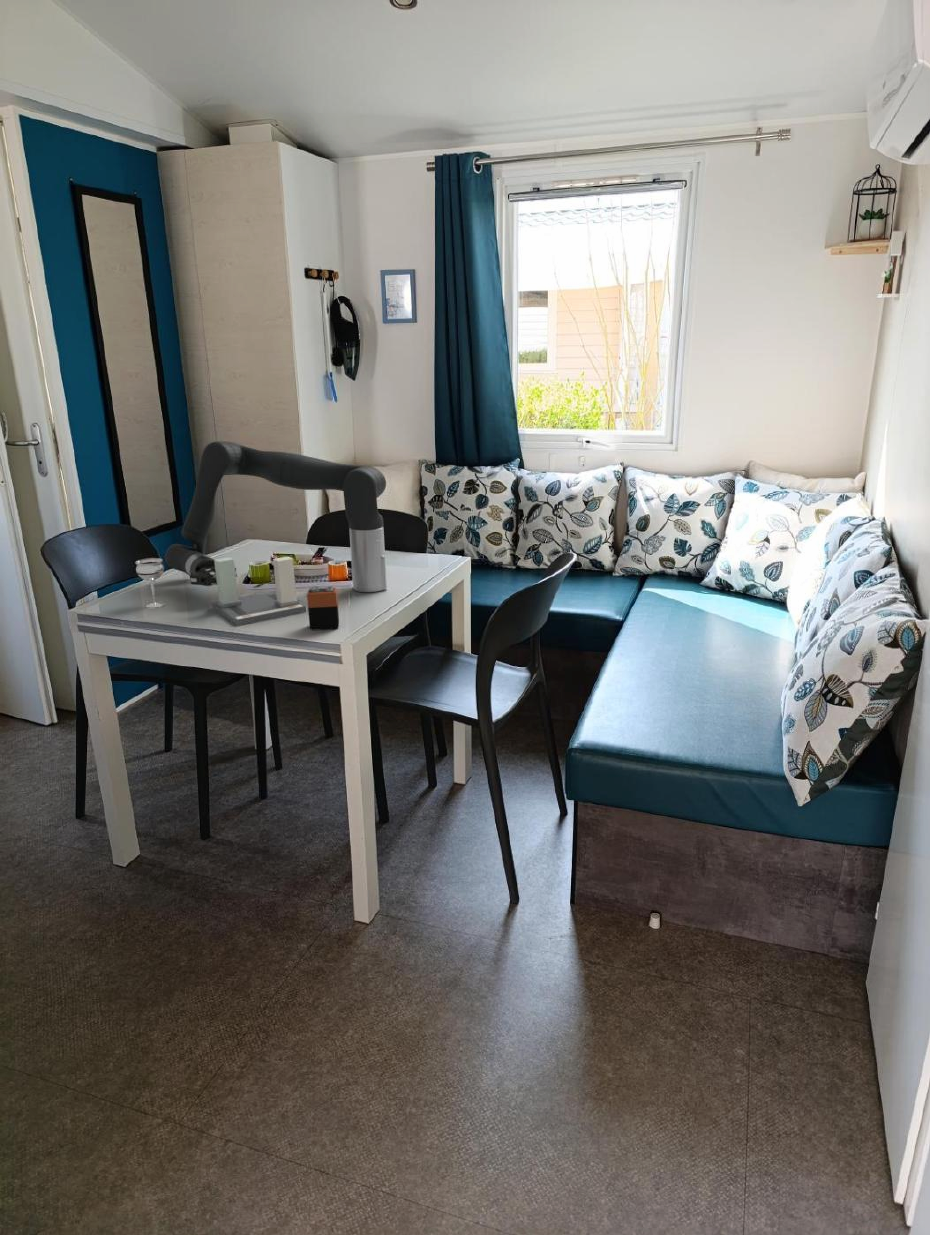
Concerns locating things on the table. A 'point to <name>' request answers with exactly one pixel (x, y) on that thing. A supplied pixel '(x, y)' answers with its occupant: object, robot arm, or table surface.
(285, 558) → the cream tab
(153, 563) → the wineglass
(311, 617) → the battery
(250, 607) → the grey square tray
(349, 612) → the table surface
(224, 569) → the sage tab
